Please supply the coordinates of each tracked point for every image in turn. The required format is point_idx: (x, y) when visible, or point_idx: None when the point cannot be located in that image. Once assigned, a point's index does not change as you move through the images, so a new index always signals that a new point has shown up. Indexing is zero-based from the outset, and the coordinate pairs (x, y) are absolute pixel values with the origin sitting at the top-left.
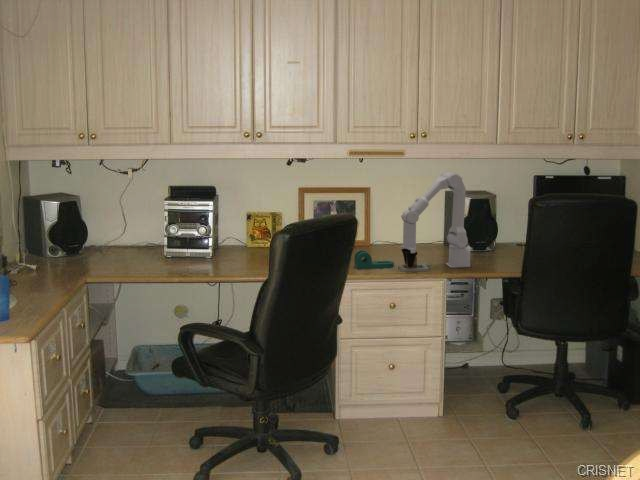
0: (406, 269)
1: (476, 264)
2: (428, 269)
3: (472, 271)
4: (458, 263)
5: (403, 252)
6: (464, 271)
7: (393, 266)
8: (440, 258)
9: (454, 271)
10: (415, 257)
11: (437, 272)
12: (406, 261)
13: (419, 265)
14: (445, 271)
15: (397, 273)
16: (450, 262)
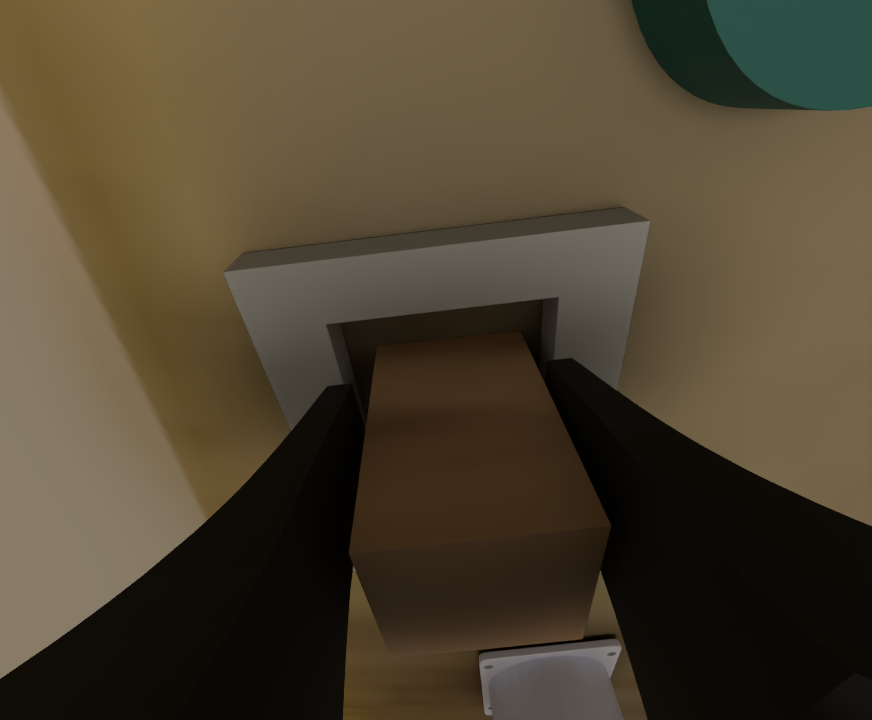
0: (251, 333)
1: None
2: None
3: (369, 707)
4: (492, 714)
5: (729, 579)
6: (365, 687)
7: (695, 89)
8: None
9: (359, 657)
10: (386, 641)
11: None
12: (532, 414)
13: None
14: (353, 624)
15: (53, 111)
16: (534, 692)
